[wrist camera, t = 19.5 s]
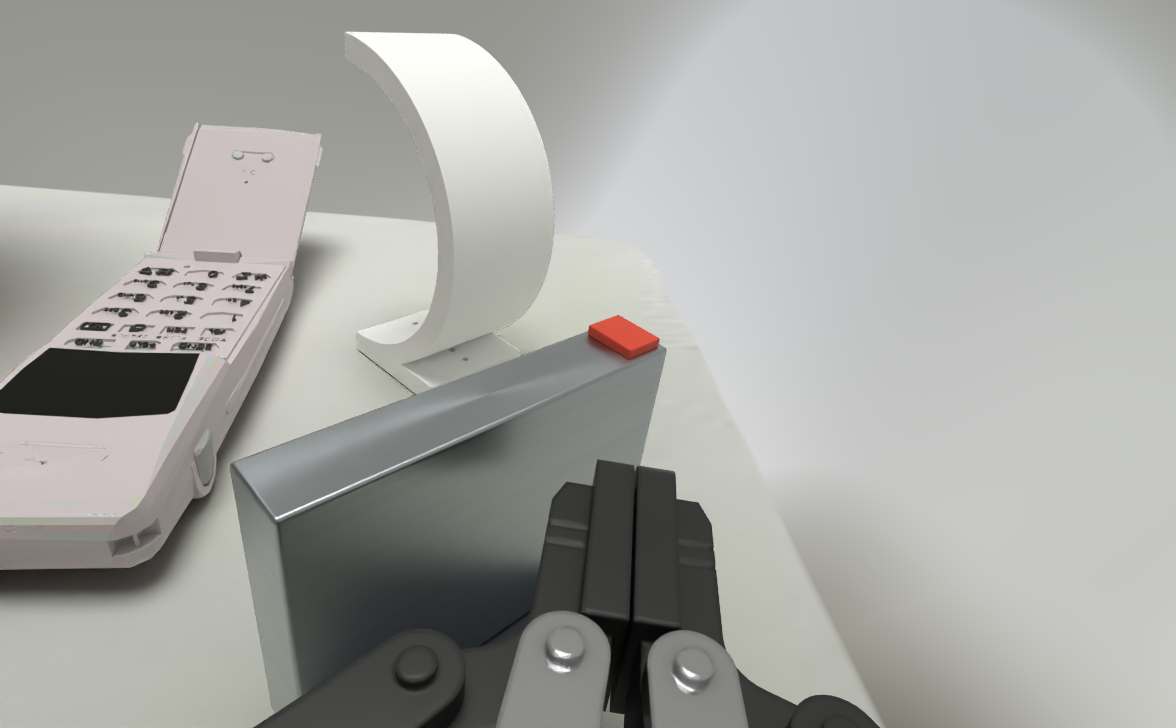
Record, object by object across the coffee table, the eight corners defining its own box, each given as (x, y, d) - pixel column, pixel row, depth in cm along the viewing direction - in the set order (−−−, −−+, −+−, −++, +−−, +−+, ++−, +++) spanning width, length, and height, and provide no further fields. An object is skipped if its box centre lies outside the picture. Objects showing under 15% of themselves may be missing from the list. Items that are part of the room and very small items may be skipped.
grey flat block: (307, 767, 13) (271, 509, 10) (269, 706, 14) (225, 449, 10) (621, 548, 19) (671, 339, 15) (581, 515, 20) (619, 309, 16)
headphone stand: (446, 319, 31) (457, 34, 25) (537, 379, 28) (575, 70, 22) (356, 348, 28) (343, 31, 22) (446, 419, 25) (461, 73, 19)
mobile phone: (327, 131, 34) (71, 462, 13) (335, 244, 37) (140, 660, 16) (195, 119, 33) (-322, 458, 12) (214, 236, 36) (-167, 670, 15)
